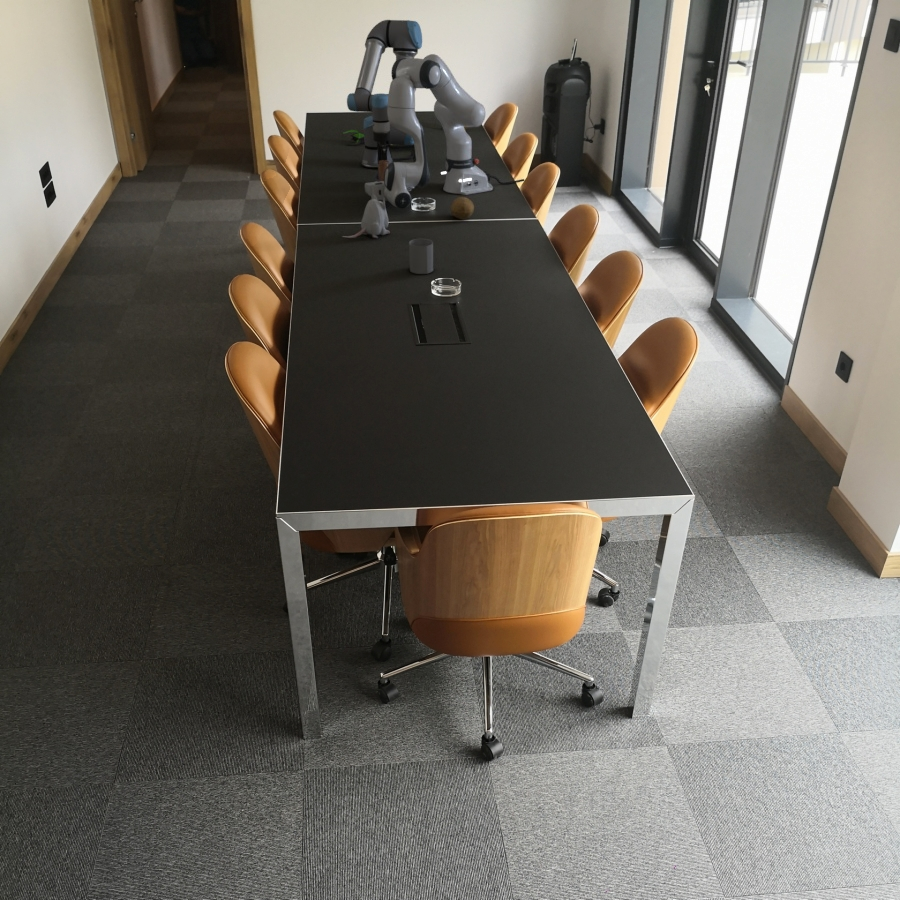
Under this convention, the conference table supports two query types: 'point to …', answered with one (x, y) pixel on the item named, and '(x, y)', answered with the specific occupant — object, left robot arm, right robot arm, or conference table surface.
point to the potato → (462, 208)
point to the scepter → (355, 137)
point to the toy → (374, 219)
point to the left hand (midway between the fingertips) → (383, 183)
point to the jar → (382, 169)
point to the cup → (421, 256)
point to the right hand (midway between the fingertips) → (383, 181)
